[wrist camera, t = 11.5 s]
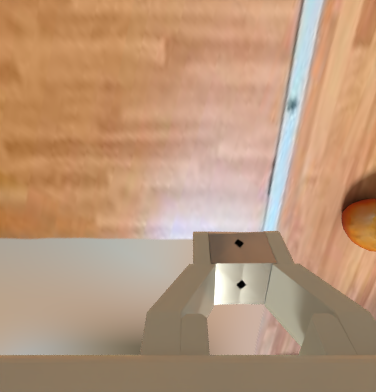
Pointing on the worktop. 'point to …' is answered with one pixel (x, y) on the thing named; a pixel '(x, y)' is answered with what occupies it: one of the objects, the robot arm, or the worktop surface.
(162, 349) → the robot arm
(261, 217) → the worktop surface
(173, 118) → the worktop surface
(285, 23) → the worktop surface
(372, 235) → the fruit
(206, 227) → the worktop surface
